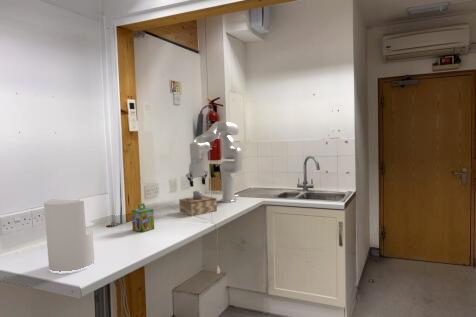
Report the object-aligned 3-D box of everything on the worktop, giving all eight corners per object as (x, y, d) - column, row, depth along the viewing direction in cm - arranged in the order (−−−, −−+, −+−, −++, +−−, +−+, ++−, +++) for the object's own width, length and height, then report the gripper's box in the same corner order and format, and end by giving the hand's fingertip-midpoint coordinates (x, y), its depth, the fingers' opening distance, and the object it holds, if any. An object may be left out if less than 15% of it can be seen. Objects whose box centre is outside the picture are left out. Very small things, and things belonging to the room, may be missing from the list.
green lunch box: (141, 232, 194) (140, 206, 192) (131, 230, 199) (130, 204, 198) (155, 228, 201) (153, 203, 200) (145, 226, 206) (143, 202, 205)
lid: (203, 196, 253) (203, 195, 253) (216, 199, 241) (216, 198, 241) (179, 200, 240) (179, 199, 240) (191, 204, 228) (191, 202, 228)
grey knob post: (199, 197, 245) (198, 190, 244) (203, 198, 240) (203, 191, 240) (191, 198, 241) (191, 191, 241) (196, 199, 236) (196, 192, 236)
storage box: (203, 207, 254) (203, 196, 253) (216, 211, 241) (216, 199, 241) (179, 212, 241) (179, 201, 241) (192, 216, 229) (191, 204, 228)
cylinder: (71, 276, 135) (66, 205, 133) (39, 271, 141) (33, 203, 139) (103, 260, 151) (99, 197, 149) (73, 257, 157) (69, 195, 155)
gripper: (203, 159, 247) (205, 183, 249) (182, 161, 236) (184, 186, 238) (209, 159, 241) (211, 184, 243) (188, 162, 230) (189, 188, 232)
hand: (197, 185), depth 241 cm, fingers open, 9 cm apart
